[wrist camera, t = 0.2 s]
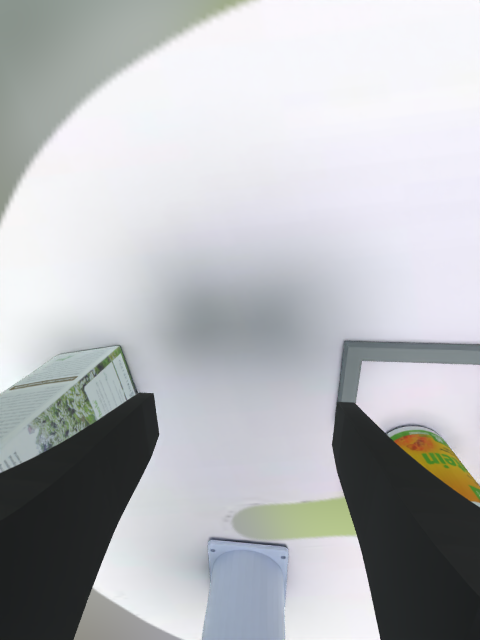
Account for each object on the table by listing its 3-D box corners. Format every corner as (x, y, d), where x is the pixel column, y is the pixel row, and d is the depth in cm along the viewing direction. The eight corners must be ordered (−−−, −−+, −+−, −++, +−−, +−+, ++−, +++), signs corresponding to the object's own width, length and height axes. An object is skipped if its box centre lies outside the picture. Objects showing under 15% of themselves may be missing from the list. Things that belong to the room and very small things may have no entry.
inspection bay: (498, 430, 21) (508, 440, 20) (334, 421, 23) (337, 430, 22) (529, 346, 19) (542, 352, 18) (344, 341, 20) (348, 347, 19)
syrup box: (57, 352, 23) (-253, 548, 9) (123, 342, 22) (-113, 543, 8) (83, 411, 25) (-145, 646, 11) (145, 404, 24) (-20, 651, 10)
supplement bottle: (458, 435, 22) (592, 590, 13) (422, 483, 24) (517, 648, 15) (392, 415, 22) (479, 555, 13) (361, 464, 24) (419, 618, 15)
